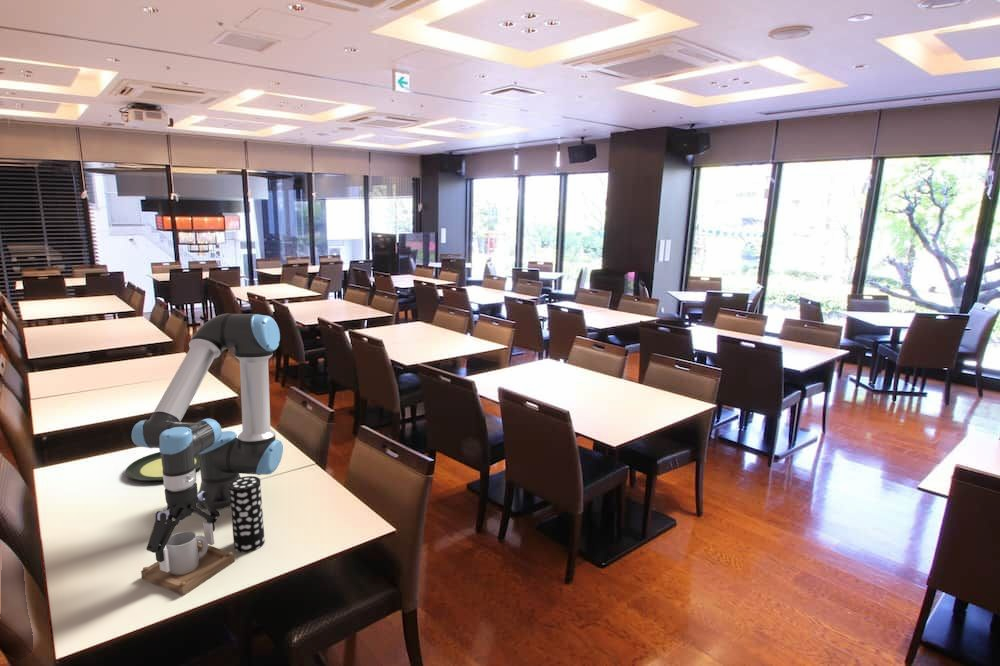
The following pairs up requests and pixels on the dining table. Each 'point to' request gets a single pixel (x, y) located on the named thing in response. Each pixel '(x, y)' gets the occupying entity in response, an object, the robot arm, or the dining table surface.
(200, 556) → the cup
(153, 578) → the wooden tray
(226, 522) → the dining table surface
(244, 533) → the white-spotted black cylinder
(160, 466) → the plate
